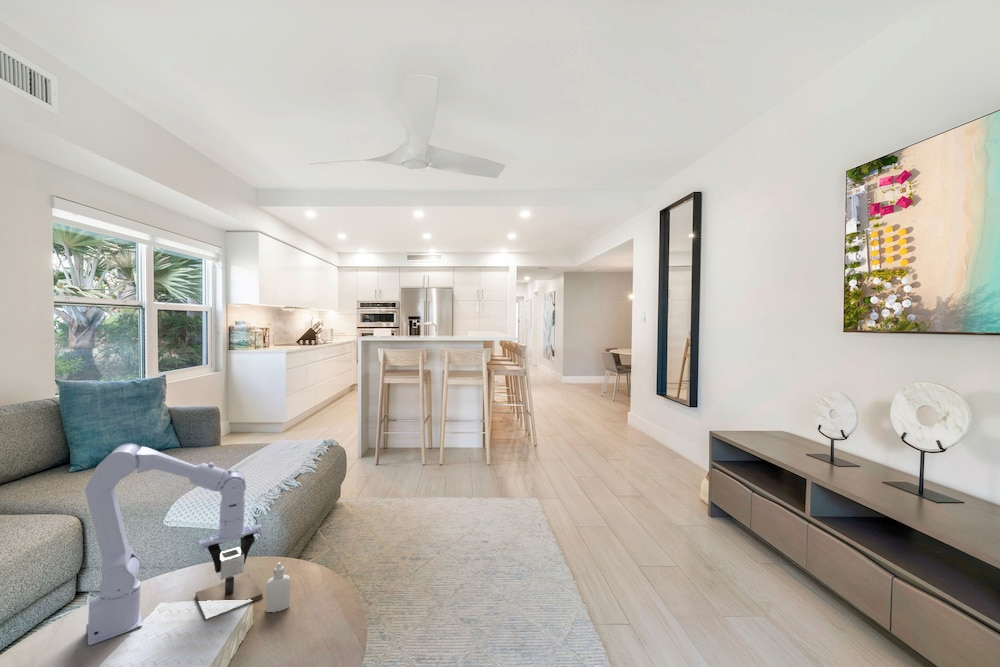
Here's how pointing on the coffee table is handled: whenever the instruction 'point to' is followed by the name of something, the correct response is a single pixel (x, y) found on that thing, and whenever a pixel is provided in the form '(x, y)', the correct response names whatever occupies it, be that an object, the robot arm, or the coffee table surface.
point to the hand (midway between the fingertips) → (230, 566)
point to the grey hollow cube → (231, 563)
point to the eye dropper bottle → (278, 590)
